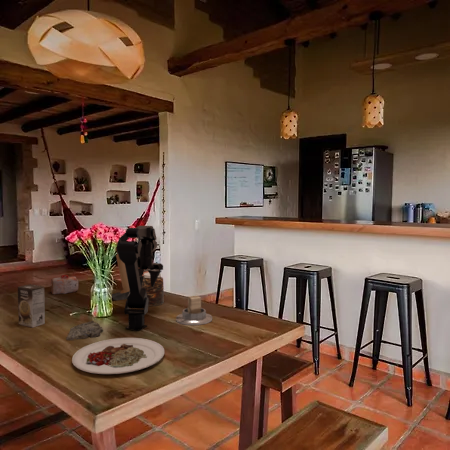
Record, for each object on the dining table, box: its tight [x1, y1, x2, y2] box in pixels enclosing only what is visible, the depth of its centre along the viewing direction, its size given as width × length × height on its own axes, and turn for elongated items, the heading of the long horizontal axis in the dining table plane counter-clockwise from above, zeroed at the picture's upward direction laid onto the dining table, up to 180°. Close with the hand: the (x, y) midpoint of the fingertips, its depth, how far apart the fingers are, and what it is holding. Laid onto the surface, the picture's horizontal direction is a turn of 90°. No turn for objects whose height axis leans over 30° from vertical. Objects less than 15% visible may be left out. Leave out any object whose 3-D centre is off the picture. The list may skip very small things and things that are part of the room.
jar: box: [141, 272, 165, 307], centre depth 206 cm, size 12×12×15 cm
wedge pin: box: [187, 295, 202, 313], centre depth 179 cm, size 4×4×9 cm
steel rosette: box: [175, 307, 213, 326], centre depth 179 cm, size 16×16×4 cm
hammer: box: [111, 254, 130, 301], centre depth 214 cm, size 20×5×30 cm, turn 121°
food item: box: [50, 274, 79, 295], centre depth 227 cm, size 14×8×10 cm, turn 122°
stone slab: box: [65, 320, 104, 341], centre depth 162 cm, size 13×17×3 cm
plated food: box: [71, 337, 165, 375], centre depth 137 cm, size 30×30×3 cm
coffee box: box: [17, 283, 46, 328], centre depth 171 cm, size 9×6×16 cm
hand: (146, 288), depth 182 cm, fingers open, 9 cm apart
